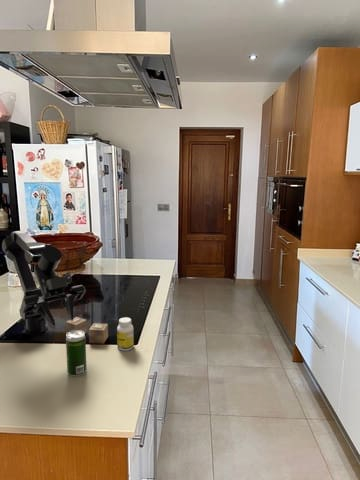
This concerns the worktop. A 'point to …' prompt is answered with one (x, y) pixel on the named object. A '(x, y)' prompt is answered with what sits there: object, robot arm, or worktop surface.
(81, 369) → the beer can
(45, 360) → the worktop surface
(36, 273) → the robot arm
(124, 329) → the supplement bottle
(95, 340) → the marked cube
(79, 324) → the marked cube
